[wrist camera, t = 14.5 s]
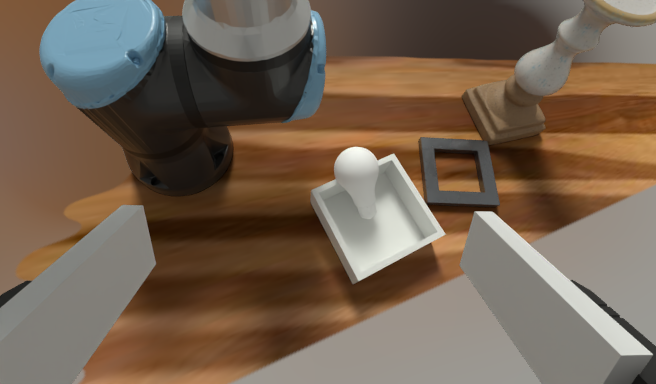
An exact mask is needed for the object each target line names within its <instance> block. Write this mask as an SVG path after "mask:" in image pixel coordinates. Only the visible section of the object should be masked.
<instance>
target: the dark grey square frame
mask: <svg viewBox="0 0 656 384" xmlns="http://www.w3.org/2000/svg"><path fill="white" fill-rule="evenodd" d="M418 143H419V152H420V162H421V172H422V181H423V191H424V200H425V203H426V205H444V206H469V207H497V206H499V205H500V203H499V198H498V193H497V188H496V183H495V178H494V173H493V167H492V162H491V157H490V152H489V147H488V142H487V141H482V140H463V139H444V138H425V137H421V138H420V139H419V141H418ZM434 152H443V153H463V154H474V157H475V162H476V168H477V174H478V179H479V185H480V191H481V192H459V191H439V187H438V179H437V170H436V162H435V154H434Z"/></svg>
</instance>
